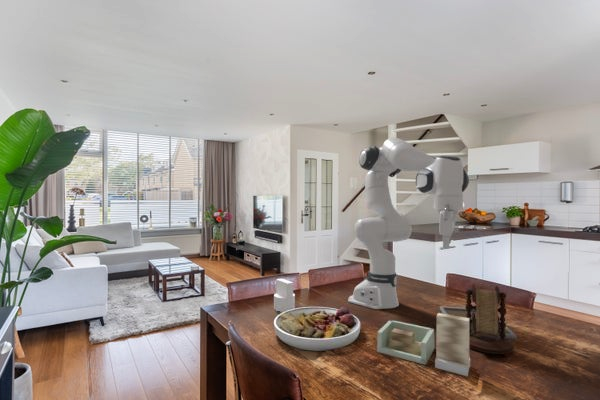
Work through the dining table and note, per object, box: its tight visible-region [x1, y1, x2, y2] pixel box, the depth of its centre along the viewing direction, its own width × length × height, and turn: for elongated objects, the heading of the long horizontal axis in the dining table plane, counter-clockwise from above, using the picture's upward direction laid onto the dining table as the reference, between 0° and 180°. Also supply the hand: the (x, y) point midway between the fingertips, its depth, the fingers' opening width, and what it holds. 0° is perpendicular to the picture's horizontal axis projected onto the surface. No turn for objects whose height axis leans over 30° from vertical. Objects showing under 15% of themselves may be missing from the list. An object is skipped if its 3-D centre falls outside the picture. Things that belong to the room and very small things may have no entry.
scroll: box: [465, 283, 514, 358], centre depth 104 cm, size 15×15×20 cm
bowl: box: [273, 306, 361, 352], centre depth 114 cm, size 30×30×8 cm
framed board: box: [439, 305, 518, 340], centre depth 127 cm, size 19×2×30 cm
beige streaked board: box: [435, 312, 470, 374], centre depth 90 cm, size 8×2×14 cm, turn 58°
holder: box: [434, 356, 471, 377], centre depth 90 cm, size 8×6×3 cm
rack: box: [376, 319, 435, 366], centre depth 100 cm, size 14×12×7 cm
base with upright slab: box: [273, 278, 296, 313], centre depth 140 cm, size 9×9×12 cm
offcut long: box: [390, 338, 421, 356], centre depth 99 cm, size 9×3×3 cm, turn 57°
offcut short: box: [391, 328, 414, 344], centre depth 100 cm, size 6×3×2 cm, turn 57°
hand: (447, 245), depth 109 cm, fingers open, 8 cm apart
